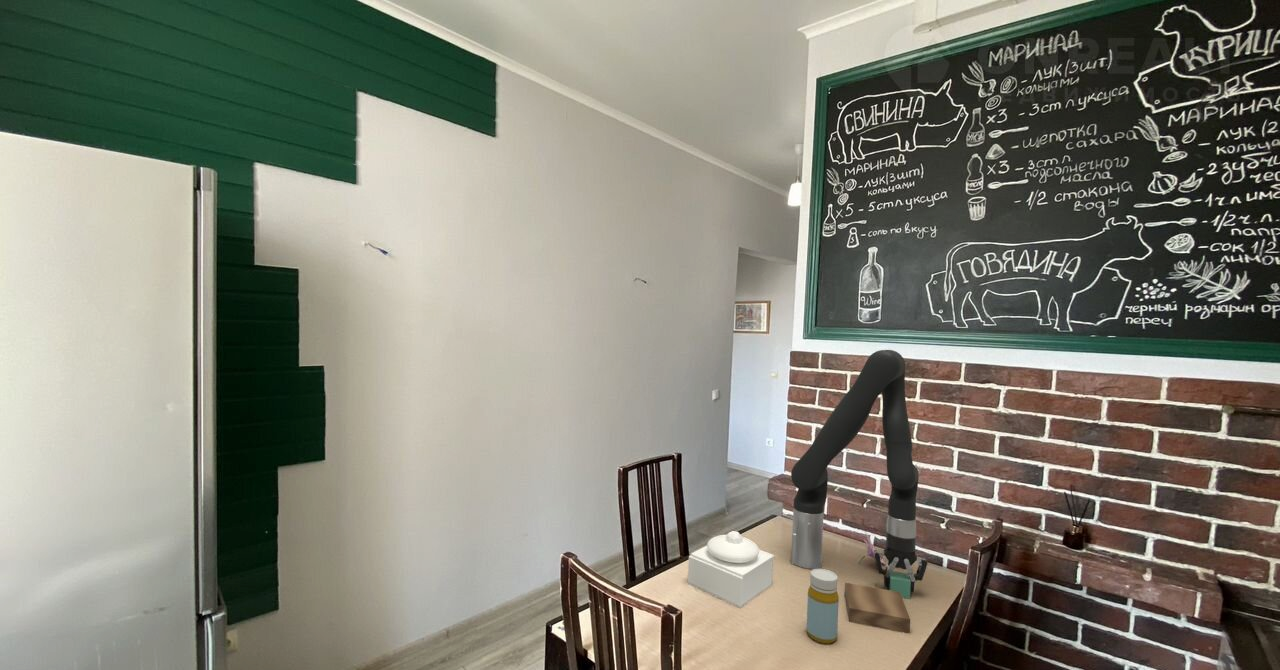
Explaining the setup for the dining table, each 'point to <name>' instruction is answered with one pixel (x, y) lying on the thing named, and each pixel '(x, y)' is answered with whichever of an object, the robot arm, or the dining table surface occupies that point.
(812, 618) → the bottle
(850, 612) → the walnut base
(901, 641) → the dining table surface
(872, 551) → the lily
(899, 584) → the green cube
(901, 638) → the dining table surface
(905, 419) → the robot arm
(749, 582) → the butter dish
